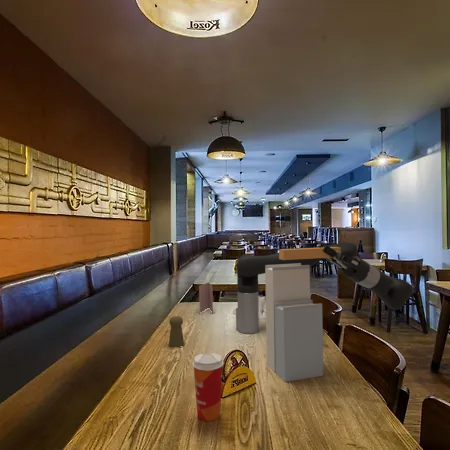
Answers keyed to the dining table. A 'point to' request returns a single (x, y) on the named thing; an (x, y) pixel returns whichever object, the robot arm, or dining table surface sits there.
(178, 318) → the cork
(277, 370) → the grey box
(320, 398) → the dining table surface
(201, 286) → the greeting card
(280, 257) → the bar
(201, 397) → the paper cup
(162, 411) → the dining table surface
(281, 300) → the tall pale grey pillar
